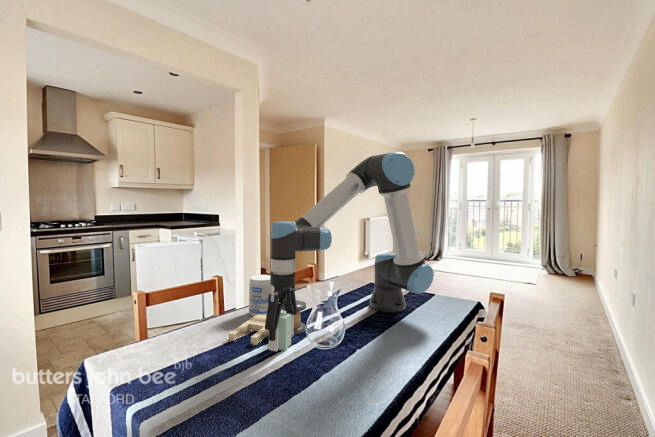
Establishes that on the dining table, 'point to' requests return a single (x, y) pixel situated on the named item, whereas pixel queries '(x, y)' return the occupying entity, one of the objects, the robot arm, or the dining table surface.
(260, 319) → the notched board
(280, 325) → the peg
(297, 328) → the bobbin
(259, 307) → the supplement tub
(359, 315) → the dining table surface
